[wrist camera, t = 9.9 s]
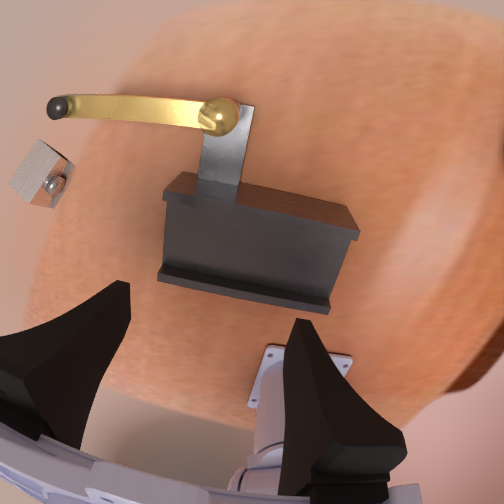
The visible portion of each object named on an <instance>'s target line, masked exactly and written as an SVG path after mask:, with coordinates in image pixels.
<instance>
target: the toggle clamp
mask: <svg viewBox="0 0 504 504" xmlns="http://www.w3.org/2000/svg"><path fill="white" fill-rule="evenodd" d="M230 100H231V101H233V102H234V103H235V104H236V105H237V107H238V109H239V112H240V119H239V122H238V124H237V126H236V127H235V128H234V129H233V130H232V131H231V132H230V133H228V134H227V135H224V136H221V137H214V136H210V135H208V134H206V133H204V139H203V146H202V152H201V158H200V165H199V172H198V174H193V173H188V172H182V173H181V174H180V175H179V176H177V177H176V178H175V179H174V180H173V181H172V182H171V183H170V184H169V185H168V186H167V187H166V188H165V189H164V191H163V201H167V209H166V221H165V233H164V246H163V262H162V266H161V268H160V270H159V272H158V276H157V281H160V282H164V283H169V284H173V285H178V286H182V287H187V288H191V289H196V290H200V291H205V292H210V293H215V294H219V295H224V296H229V297H234V298H239V299H244V300H249V301H254V302H259V303H265V304H270V305H275V306H281V307H286V308H291V309H297V310H303V311H308V312H314V313H320V314H326V315H328V313H329V311H330V309H331V306H330V301H329V297H330V294H331V292H332V289H333V287H334V284H335V281H336V279H337V276H338V274H339V271H340V268H341V266H342V263H343V260H344V258H345V255H346V252H347V250H348V247H349V244H350V241H351V240H355V241H357V240H358V237H359V234H360V230H359V228H358V226H357V224H356V223H355V221H354V219H353V217H352V215H351V213H350V212H349V210H348V208H347V206H343V205H339V204H335V203H331V202H327V201H323V200H319V199H315V198H310V197H306V196H302V195H297V194H293V193H288V192H284V191H279V190H275V189H270V188H265V187H261V186H256V185H251V184H246V183H241V182H240V177H241V172H242V167H243V162H244V157H245V152H246V147H247V142H248V137H249V132H250V127H251V122H252V118H253V113H254V108H255V106H250V105H245V104H241V103H240V102H239V101H237V100H234V99H230Z"/></svg>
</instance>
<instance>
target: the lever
mask: <svg viewBox="0 0 504 504" xmlns="http://www.w3.org/2000/svg"><path fill="white" fill-rule="evenodd" d="M47 114H48V116H49V118H51V119H52V120H57V119H61V118H91V119H111V120H126V121H139V122H150V123H160V124H170V125H179V126H187V127H195V128H201V129H202V130H203V131H204V132H205V133H206V134H208V135H210V136H214V137H221V136H224V135H227V134H228V133H230V132H231V131H232V130H233V129H234V128H235V127H236V126H237V124H238V122H239V119H240V112H239V109H238V107H237V105H236V104H235V103H234V102H233V101H231V100H230V99H227V98H215V99H211V100H208V101H207V102H206V101H198V100H189V99H179V98H168V97H155V96H140V95H118V94H67V95H60V96H57V97H54V98H52V99H50V101H49V102H48V104H47Z"/></svg>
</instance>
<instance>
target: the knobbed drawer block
mask: <svg viewBox="0 0 504 504" xmlns="http://www.w3.org/2000/svg"><path fill="white" fill-rule="evenodd" d="M74 167H75V165H74V164H73V163H72V162H71V161H69V160H68V159H67V158H66V157H65V156H63V155H62V154H61V153H59V152H58V151H56V150H55V149H53V148H52V147H51V146H49V145H48V144H46V143H45V142H43V141H42V140H40V139H38V140H37V142H36V143H35V145H34V146H33V148H32V149H31V150H30V152H29V153H28V155H27V156H26V157H25V159H24V160H23V162H22V164H21V165H20V166H19V168H18V170H17V171H16V173H15V174H14V176H13V177H12V179H11V181H10V182H9V185H10V186H11V187H12V188H13V189H14V190H15V191H16V192H17V193H18V194H19V195H20V196H22V197H23V198H24V199H25V200H26V201H27V202H28V203H29V204H33V205H39V206H43V207H49V208H53V209H54V208H55V207H56V205H57V204H58V202H59V201H60V199H61V197H62V195H63V193H64V191H65V189H66V187H67V184H68V181H69V177H70V175H71V173H72V171H73V169H74Z"/></svg>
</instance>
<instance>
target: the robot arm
mask: <svg viewBox="0 0 504 504" xmlns="http://www.w3.org/2000/svg"><path fill="white" fill-rule="evenodd" d="M130 320H131V305H130V283H127V282H123V281H119V280H116V281H115V282H113V283H112V284H110V285H109V286H107V287H106V288H104V289H103V290H101V291H100V292H99V293H97V294H96V295H94V296H93V297H91V298H90V299H88V300H87V301H85V302H83V303H82V304H80V305H78V306H77V307H75V308H73V309H72V310H70V311H68V312H67V313H65V314H63V315H61V316H59V317H57V318H55V319H53V320H51V321H49V322H46V323H44V324H41V325H39V326H36V327H33V328H31V329H28V330H25V331H22V332H19V333H15V334H11V335H7V336H1V337H0V477H1V478H3V479H4V480H6V481H7V482H9V483H10V484H12V485H13V486H15V487H17V488H18V489H20V490H22V491H23V492H25V493H26V494H28V495H30V496H32V497H33V498H35V499H37V500H39V501H41V502H42V503H44V504H423V503H422V497H421V492H420V487H419V484H417V483H415V484H407V485H399V486H394V487H391V488H388V487H387V482H389V481H390V474H389V472H390V471H391V470H393V469H394V468H395V467H396V466H397V465H399V464H400V463H401V462H402V461H403V460H404V459H405V457H406V455H407V449H406V444H405V439H404V436H403V433H402V431H400V430H399V429H398V428H396V427H395V426H393V425H392V424H391V423H389V422H388V421H386V420H385V419H384V418H383V417H381V416H380V415H379V414H378V413H377V412H375V411H374V410H373V409H372V408H371V407H370V406H369V405H368V404H367V403H366V402H365V401H364V400H363V399H362V398H361V397H360V396H359V395H358V394H357V393H356V392H355V390H354V389H353V388H352V387H351V386H350V384H349V383H348V382H347V381H346V380H345V378H344V376H345V375H346V373H347V371H348V370H349V368H350V366H351V365H352V363H353V359H352V357H351V356H344V355H336V354H329V353H328V352H327V350H326V349H325V347H324V345H323V343H322V341H321V339H320V338H319V336H318V334H317V332H316V330H315V328H314V326H313V324H312V322H311V321H310V320H305V319H300V318H296V321H295V323H294V326H293V329H292V332H291V334H290V337H289V340H288V342H287V345H286V347H282V346H276V345H269V346H267V347H266V349H265V352H264V355H263V359H262V362H261V365H260V368H259V370H258V373H257V376H256V379H255V382H254V385H253V388H252V391H251V394H250V397H249V400H248V404H247V406H248V407H250V408H255V409H257V411H256V425H255V439H254V455H249V456H248V461H247V467H242V468H239V469H238V470H237V471H236V472H235V474H234V476H233V477H232V478H231V480H230V483H229V485H228V489H227V490H224V489H217V488H211V487H206V486H200V485H195V484H190V483H186V482H183V481H178V480H174V479H169V478H166V477H161V476H158V475H154V474H150V473H146V472H143V471H139V470H136V469H133V468H129V467H126V466H123V465H120V464H117V463H113V462H110V461H107V460H104V459H101V458H98V457H95V456H93V455H90V454H88V453H85V452H82V451H80V447H81V442H82V438H83V434H84V430H85V427H86V423H87V419H88V416H89V413H90V410H91V407H92V404H93V401H94V398H95V395H96V392H97V390H98V387H99V384H100V382H101V380H102V378H103V375H104V373H105V372H106V370H107V368H108V366H109V364H110V362H111V360H112V359H113V357H114V355H115V353H116V351H117V349H118V348H119V346H120V344H121V342H122V340H123V338H124V336H125V333H126V331H127V328H128V326H129V323H130ZM345 364H346V365H345Z"/></svg>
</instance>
